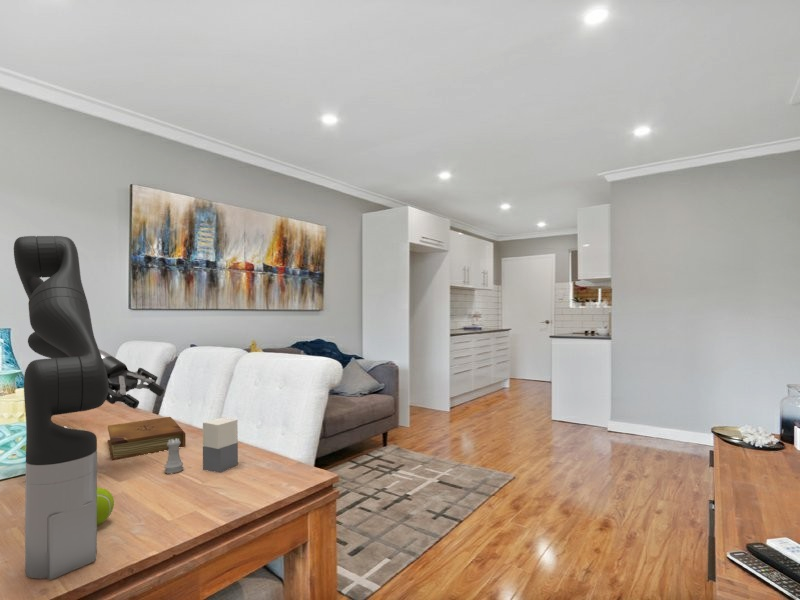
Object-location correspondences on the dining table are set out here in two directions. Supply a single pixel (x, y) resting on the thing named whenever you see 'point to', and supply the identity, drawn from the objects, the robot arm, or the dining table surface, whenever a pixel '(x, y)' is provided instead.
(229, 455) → the tower base
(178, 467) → the rook chess piece
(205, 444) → the tower top
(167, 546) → the dining table surface
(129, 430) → the diary
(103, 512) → the tennis ball
